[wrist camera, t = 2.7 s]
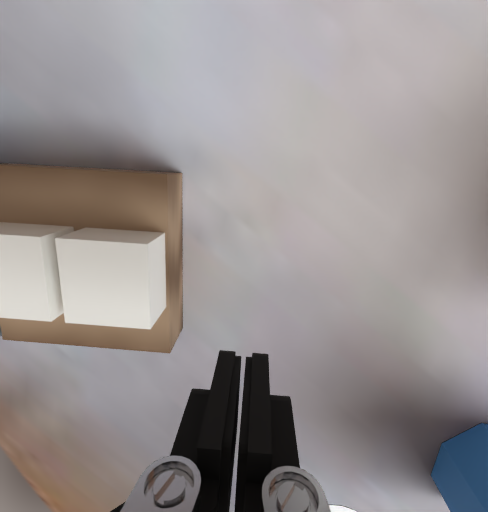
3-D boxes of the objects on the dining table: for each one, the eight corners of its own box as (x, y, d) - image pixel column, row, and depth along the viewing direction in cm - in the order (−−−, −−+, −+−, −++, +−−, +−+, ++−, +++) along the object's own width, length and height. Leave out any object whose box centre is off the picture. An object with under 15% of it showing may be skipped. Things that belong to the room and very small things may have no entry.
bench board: (14, 163, 22) (-30, 163, 19) (182, 173, 22) (167, 174, 18) (37, 316, 25) (2, 339, 22) (182, 328, 25) (169, 353, 22)
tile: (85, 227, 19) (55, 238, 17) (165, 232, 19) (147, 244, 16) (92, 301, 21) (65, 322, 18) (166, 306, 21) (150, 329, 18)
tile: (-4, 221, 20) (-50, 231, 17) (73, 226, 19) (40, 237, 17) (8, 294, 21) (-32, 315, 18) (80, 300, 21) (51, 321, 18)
